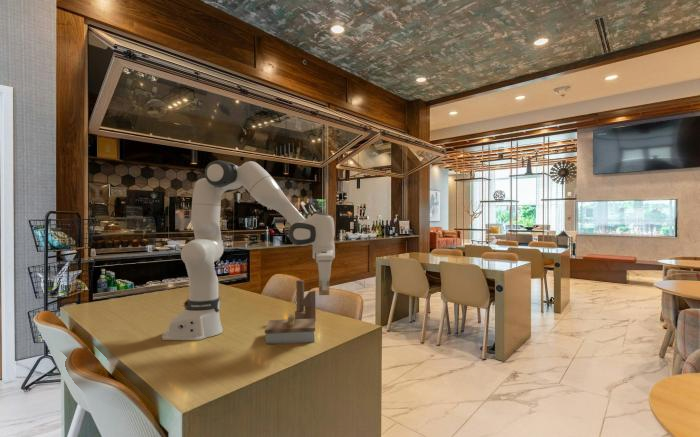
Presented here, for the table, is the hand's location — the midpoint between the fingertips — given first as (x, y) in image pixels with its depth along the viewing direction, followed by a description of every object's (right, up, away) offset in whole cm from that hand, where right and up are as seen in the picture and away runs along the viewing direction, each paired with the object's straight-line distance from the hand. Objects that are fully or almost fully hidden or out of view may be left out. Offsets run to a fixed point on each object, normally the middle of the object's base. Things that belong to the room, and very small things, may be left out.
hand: (323, 288), depth 136 cm
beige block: (0, -2, 0) cm, 2 cm away
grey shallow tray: (-13, -19, -2) cm, 23 cm away
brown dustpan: (-10, -19, +22) cm, 31 cm away
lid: (-13, -15, -2) cm, 19 cm away
